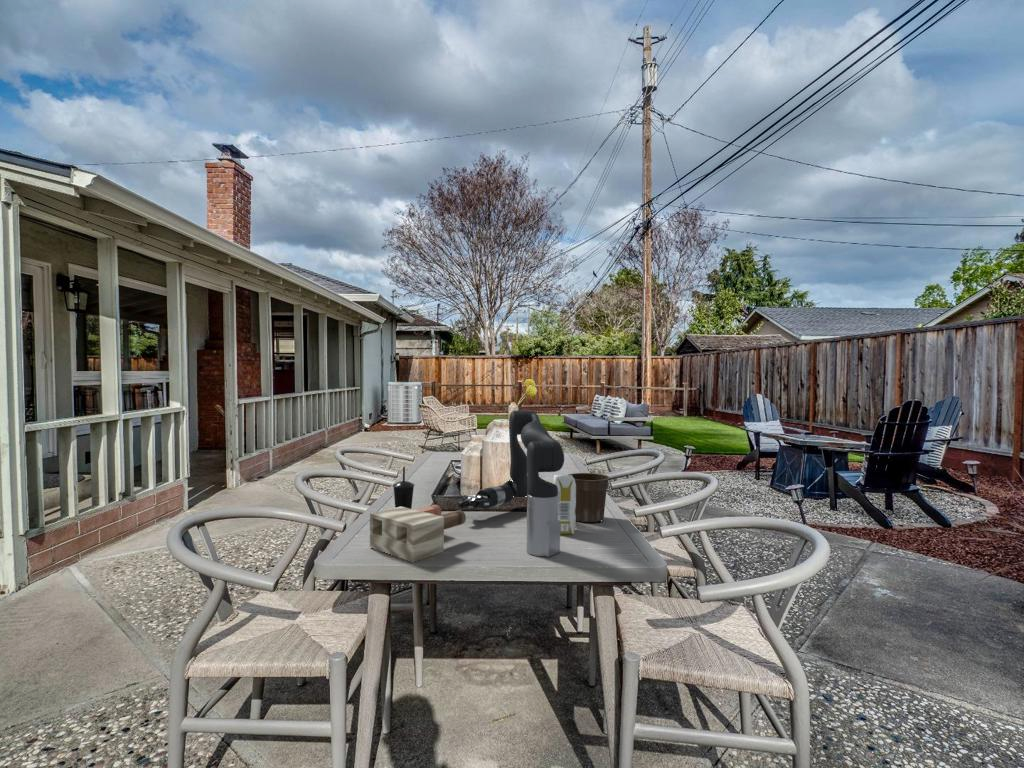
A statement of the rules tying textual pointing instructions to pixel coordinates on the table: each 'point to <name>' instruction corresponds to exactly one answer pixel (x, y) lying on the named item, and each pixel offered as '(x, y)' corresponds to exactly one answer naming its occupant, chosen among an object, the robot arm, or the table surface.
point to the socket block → (407, 533)
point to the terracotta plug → (432, 510)
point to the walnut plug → (454, 519)
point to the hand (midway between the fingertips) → (459, 505)
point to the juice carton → (566, 502)
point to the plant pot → (590, 496)
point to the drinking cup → (403, 493)
